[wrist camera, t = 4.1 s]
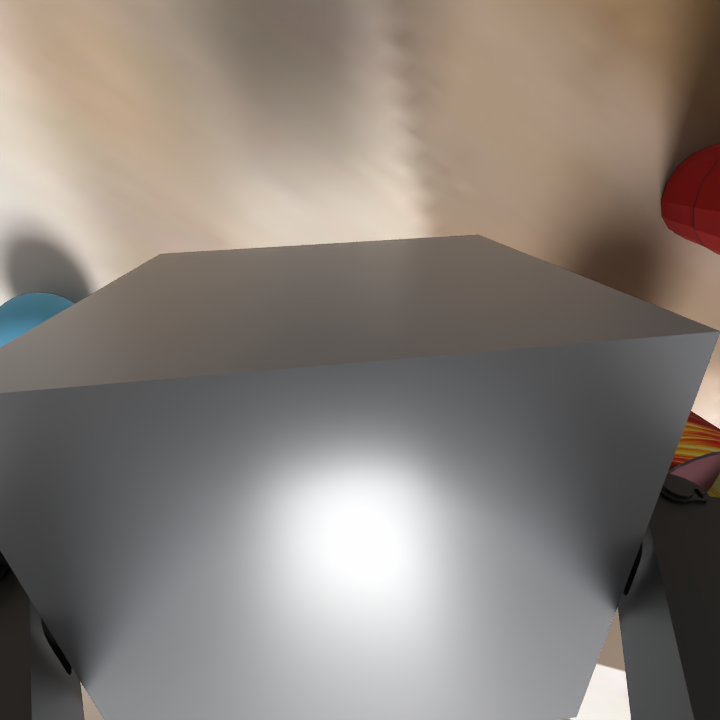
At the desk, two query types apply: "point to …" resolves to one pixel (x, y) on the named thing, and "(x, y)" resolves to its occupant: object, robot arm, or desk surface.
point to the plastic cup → (695, 199)
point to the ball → (28, 313)
